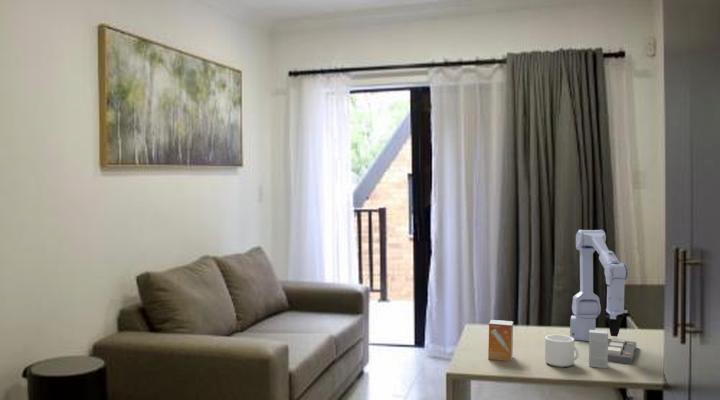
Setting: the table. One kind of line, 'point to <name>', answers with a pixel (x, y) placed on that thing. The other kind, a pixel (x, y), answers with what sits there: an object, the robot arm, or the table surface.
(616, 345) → the key middle
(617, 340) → the key inner
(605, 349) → the skincare box
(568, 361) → the mug
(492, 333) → the small box
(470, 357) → the table surface
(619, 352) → the key outer
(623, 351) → the keypad frame
